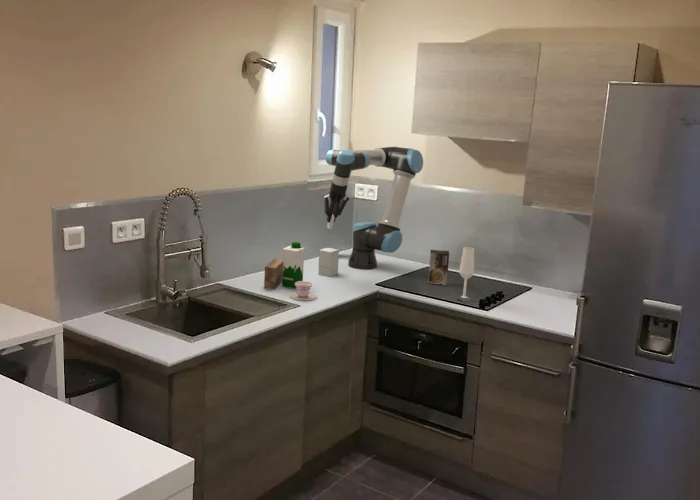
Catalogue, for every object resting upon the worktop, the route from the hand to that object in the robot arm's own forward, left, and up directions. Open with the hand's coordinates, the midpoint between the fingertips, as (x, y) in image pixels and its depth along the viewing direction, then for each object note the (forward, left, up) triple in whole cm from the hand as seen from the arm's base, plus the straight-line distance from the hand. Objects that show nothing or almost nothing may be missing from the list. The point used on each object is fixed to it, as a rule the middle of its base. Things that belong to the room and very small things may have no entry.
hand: (329, 227), depth 336 cm
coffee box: (-53, -10, -25) cm, 60 cm away
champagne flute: (-66, +13, -25) cm, 72 cm away
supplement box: (+1, -7, -25) cm, 26 cm away
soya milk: (+13, +19, -25) cm, 34 cm away
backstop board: (+21, +19, -25) cm, 38 cm away
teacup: (+4, +34, -25) cm, 43 cm away
